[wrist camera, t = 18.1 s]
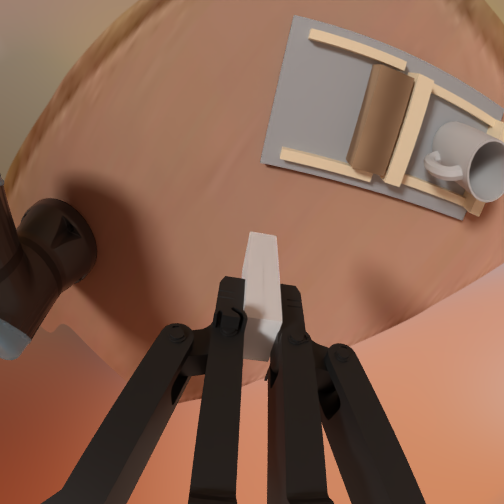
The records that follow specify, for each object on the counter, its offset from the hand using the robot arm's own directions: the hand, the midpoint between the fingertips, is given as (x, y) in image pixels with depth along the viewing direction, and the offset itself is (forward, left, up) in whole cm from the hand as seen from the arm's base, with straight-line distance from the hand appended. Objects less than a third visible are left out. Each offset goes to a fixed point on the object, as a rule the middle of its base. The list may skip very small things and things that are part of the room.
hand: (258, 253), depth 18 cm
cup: (+22, +8, -20) cm, 30 cm away
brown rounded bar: (+11, +8, -20) cm, 24 cm away
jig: (+15, +8, -21) cm, 27 cm away
